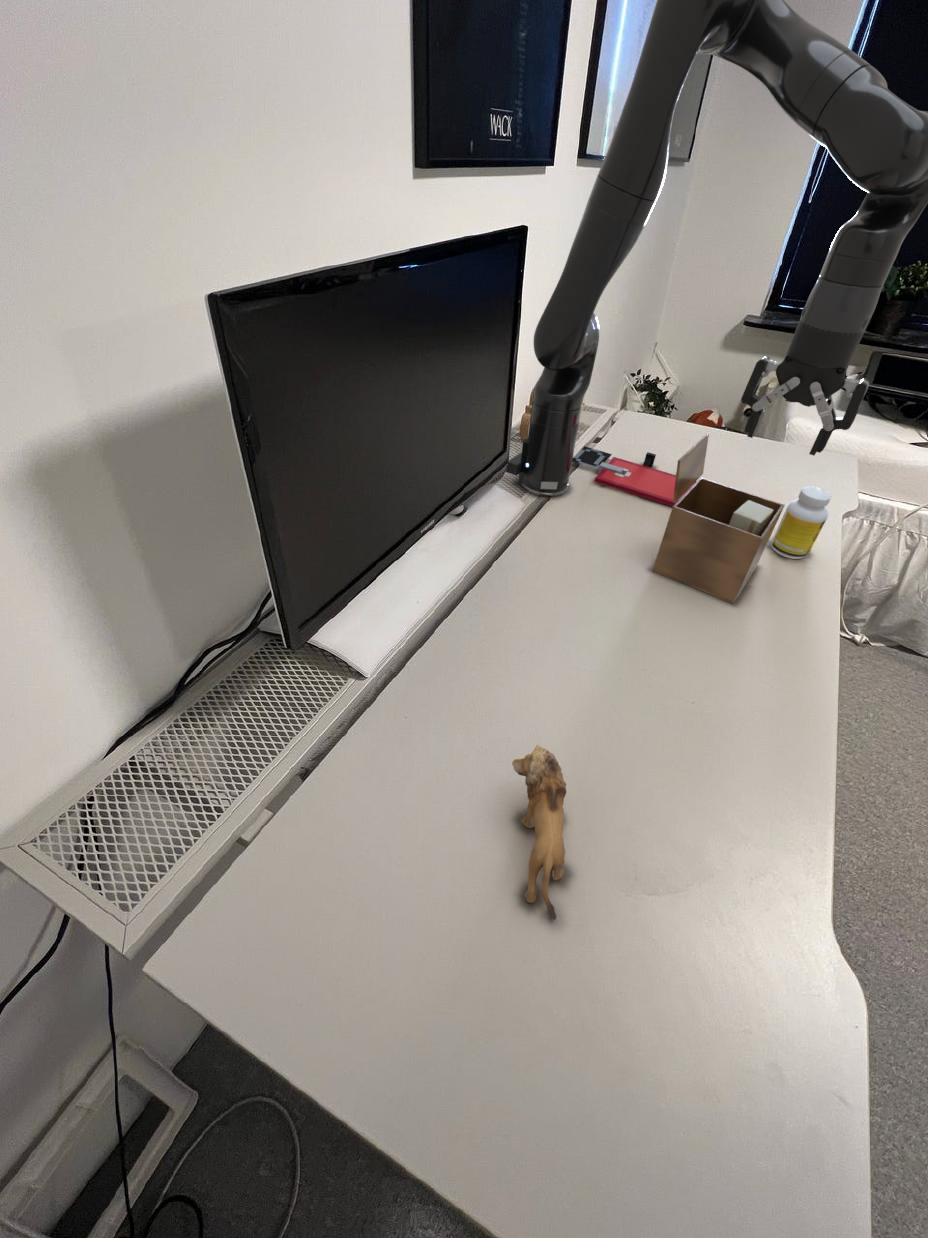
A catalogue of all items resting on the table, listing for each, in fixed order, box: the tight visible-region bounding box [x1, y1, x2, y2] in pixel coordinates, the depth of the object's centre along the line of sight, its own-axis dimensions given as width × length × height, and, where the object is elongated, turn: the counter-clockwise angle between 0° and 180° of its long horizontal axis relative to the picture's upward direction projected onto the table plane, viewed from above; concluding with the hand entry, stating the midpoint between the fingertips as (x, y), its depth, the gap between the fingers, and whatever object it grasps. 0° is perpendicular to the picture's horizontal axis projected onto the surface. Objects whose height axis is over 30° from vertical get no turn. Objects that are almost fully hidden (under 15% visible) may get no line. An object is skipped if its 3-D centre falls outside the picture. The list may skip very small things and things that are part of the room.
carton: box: [652, 477, 786, 605], centre depth 98 cm, size 14×13×12 cm
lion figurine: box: [511, 744, 567, 921], centre depth 59 cm, size 15×5×9 cm, turn 6°
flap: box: [673, 433, 710, 503], centre depth 94 cm, size 7×13×1 cm
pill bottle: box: [770, 485, 832, 560], centre depth 104 cm, size 6×6×12 cm
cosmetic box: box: [729, 500, 774, 537], centre depth 96 cm, size 6×4×12 cm
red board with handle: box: [572, 445, 698, 507], centre depth 124 cm, size 30×3×15 cm
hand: (781, 444), depth 85 cm, fingers open, 8 cm apart
